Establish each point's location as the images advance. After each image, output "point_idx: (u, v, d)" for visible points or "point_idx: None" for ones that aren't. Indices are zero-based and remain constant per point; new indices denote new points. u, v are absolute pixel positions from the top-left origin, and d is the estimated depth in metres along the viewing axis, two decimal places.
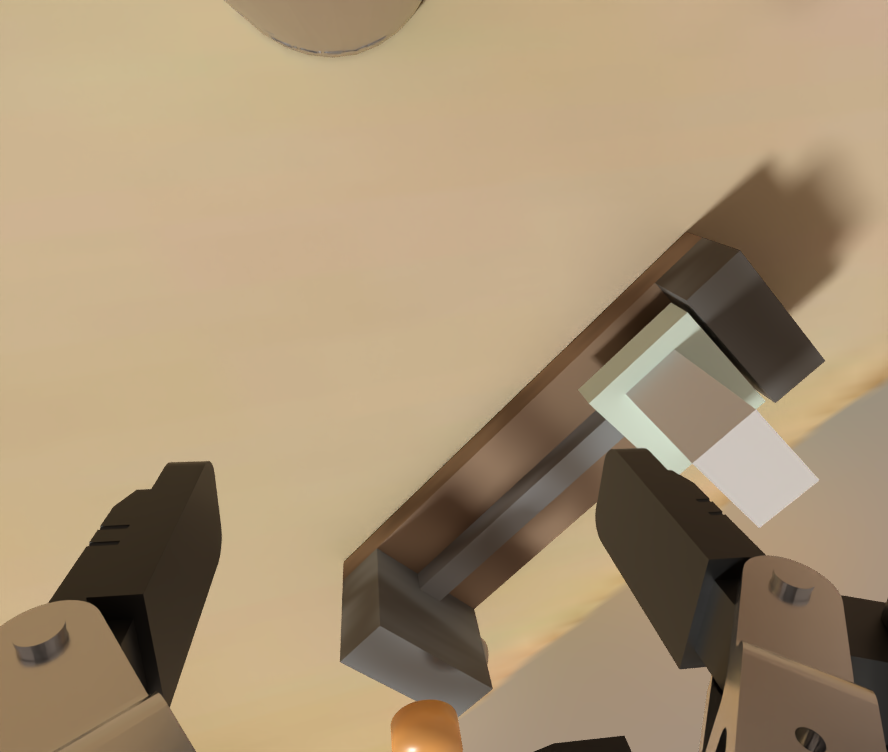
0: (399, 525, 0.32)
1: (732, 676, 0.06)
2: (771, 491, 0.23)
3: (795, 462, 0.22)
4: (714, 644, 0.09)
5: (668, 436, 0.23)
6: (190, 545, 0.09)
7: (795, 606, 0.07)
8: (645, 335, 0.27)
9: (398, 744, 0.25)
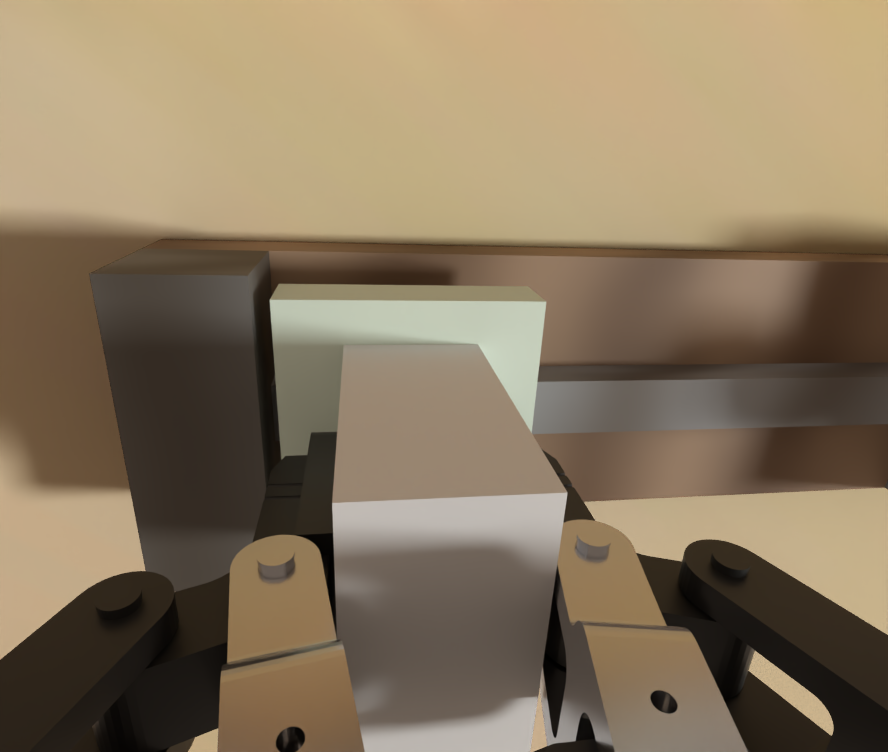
0: (835, 488, 0.20)
1: (577, 657, 0.07)
2: (459, 572, 0.08)
3: (352, 603, 0.08)
4: None
5: None
6: None
7: (587, 562, 0.08)
8: None
9: None
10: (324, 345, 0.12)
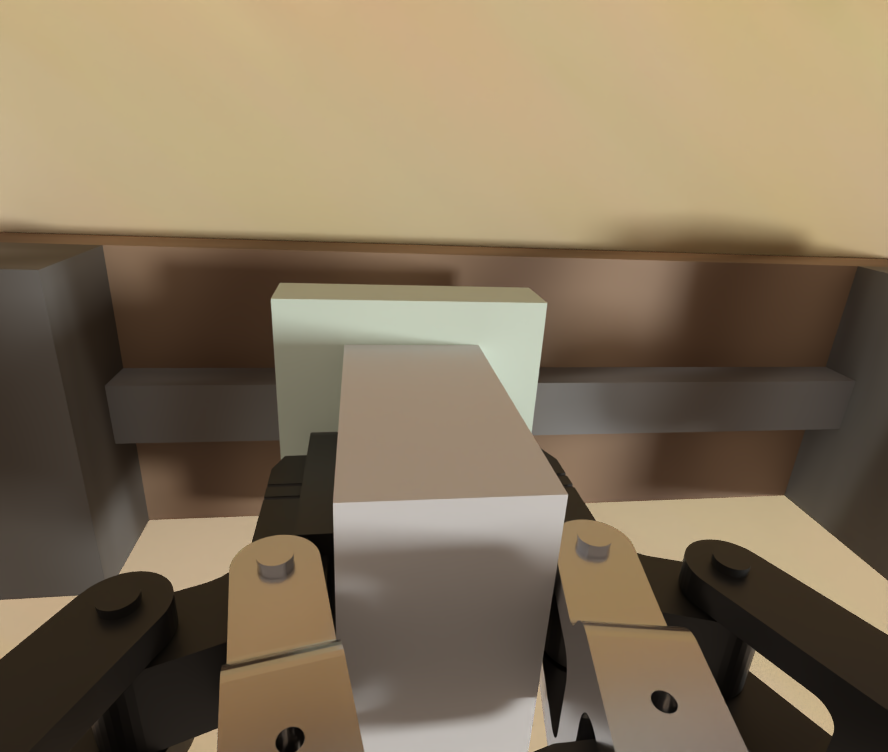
0: (732, 495, 0.20)
1: (577, 657, 0.07)
2: (458, 573, 0.08)
3: (351, 604, 0.08)
4: None
5: None
6: None
7: (587, 562, 0.08)
8: None
9: None
10: (325, 345, 0.12)
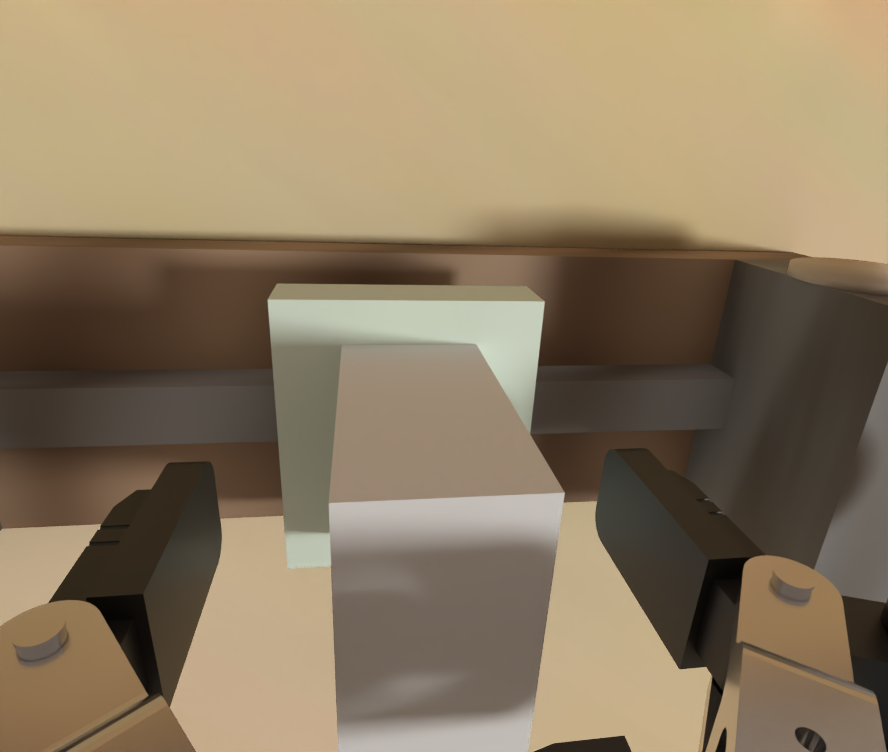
0: None
1: (732, 676, 0.06)
2: (456, 572, 0.08)
3: (349, 603, 0.08)
4: (713, 643, 0.09)
5: None
6: (190, 545, 0.09)
7: (795, 606, 0.07)
8: None
9: None
10: (322, 345, 0.12)
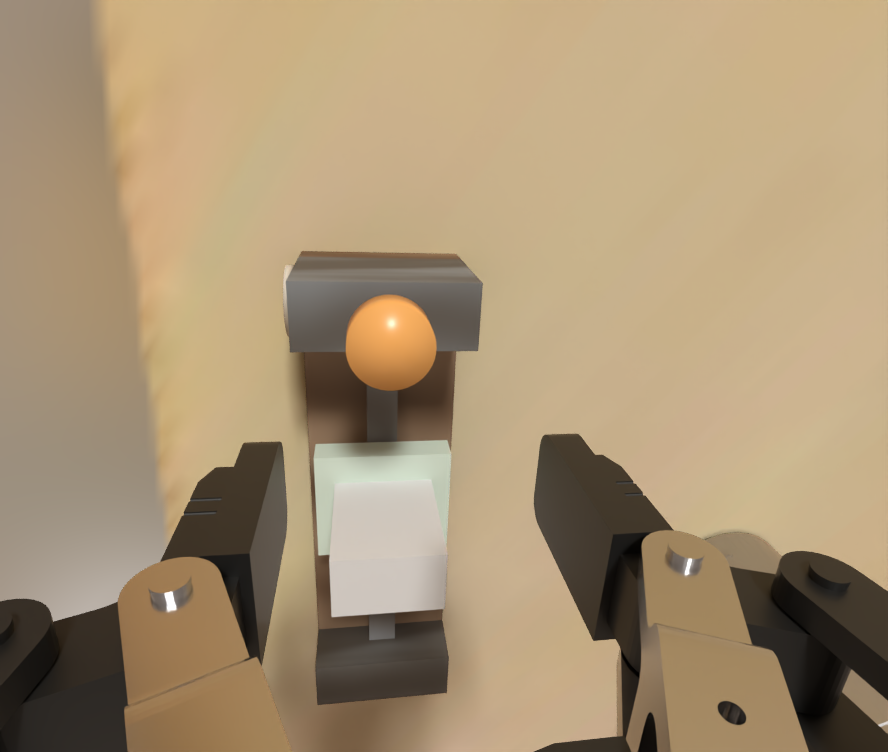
0: None
1: (650, 658, 0.07)
2: (358, 585, 0.24)
3: (368, 610, 0.25)
4: (620, 614, 0.09)
5: (441, 528, 0.26)
6: (271, 517, 0.10)
7: (683, 575, 0.08)
8: None
9: (435, 341, 0.20)
10: None
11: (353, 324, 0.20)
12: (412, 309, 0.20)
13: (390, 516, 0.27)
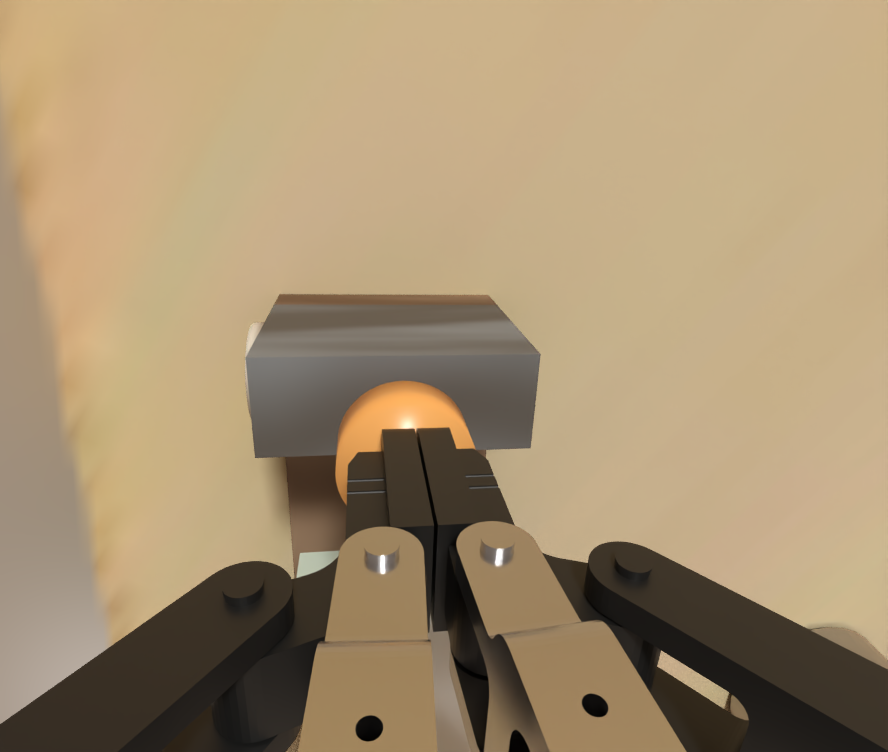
0: None
1: (500, 672, 0.06)
2: None
3: None
4: (449, 606, 0.09)
5: None
6: None
7: (486, 565, 0.08)
8: None
9: None
10: None
11: (347, 437, 0.12)
12: (441, 411, 0.12)
13: None
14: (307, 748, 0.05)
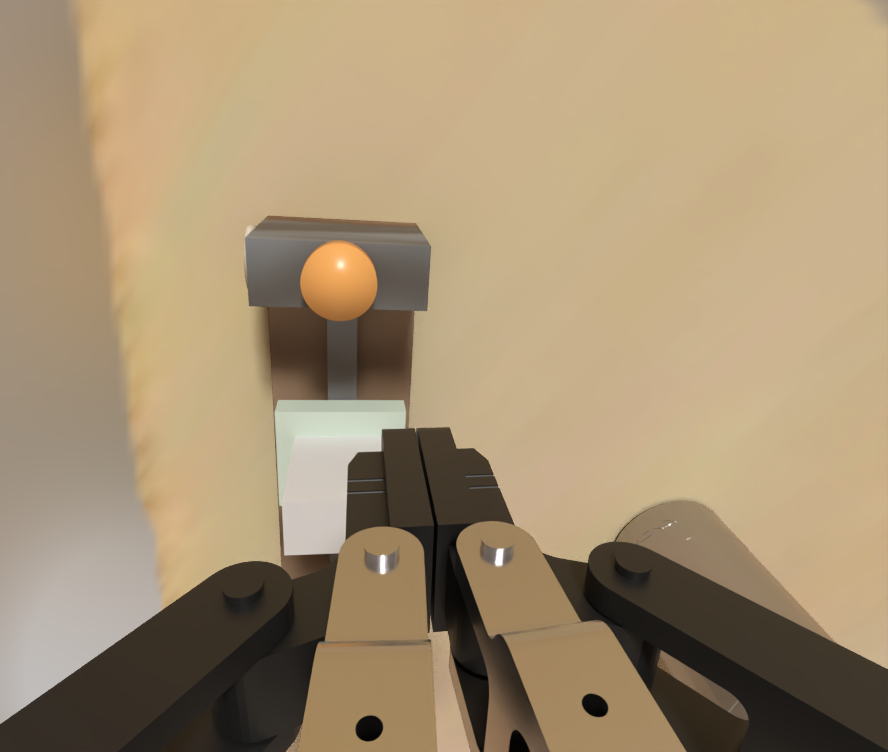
0: (413, 315, 0.32)
1: (500, 671, 0.06)
2: (309, 526, 0.26)
3: (318, 550, 0.27)
4: (448, 605, 0.09)
5: None
6: None
7: (486, 565, 0.08)
8: None
9: (376, 280, 0.24)
10: None
11: (306, 262, 0.23)
12: (356, 251, 0.24)
13: (343, 466, 0.29)
14: (307, 748, 0.05)
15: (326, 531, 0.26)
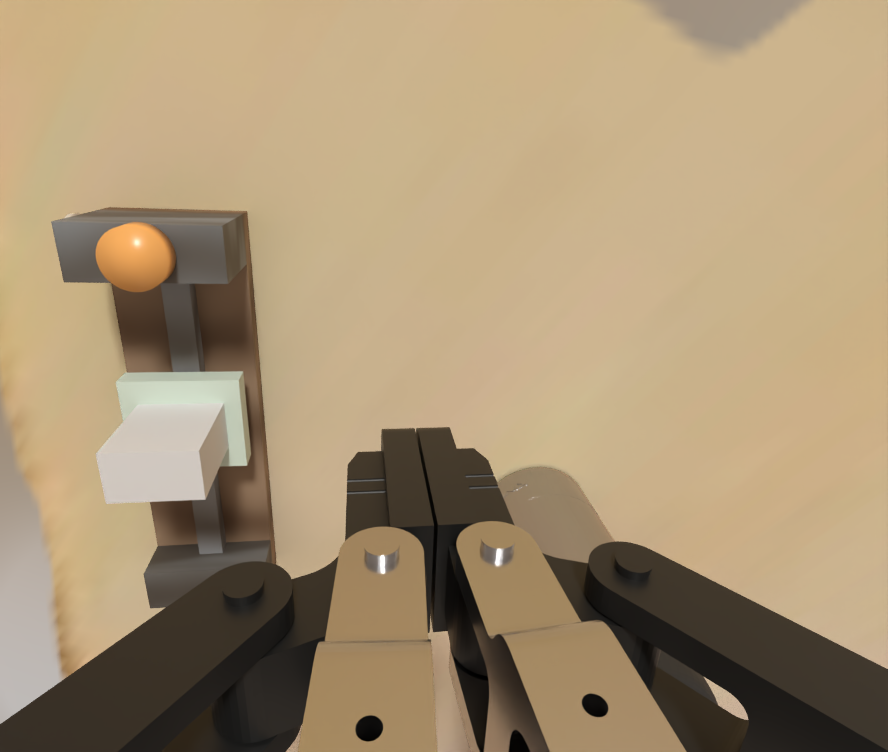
0: (249, 294, 0.36)
1: (500, 672, 0.06)
2: (125, 476, 0.30)
3: (137, 498, 0.30)
4: (449, 605, 0.09)
5: (208, 434, 0.31)
6: None
7: (486, 565, 0.08)
8: (247, 432, 0.37)
9: (165, 254, 0.28)
10: None
11: (99, 240, 0.27)
12: (143, 229, 0.27)
13: (169, 426, 0.32)
14: (307, 748, 0.05)
15: (141, 481, 0.30)
